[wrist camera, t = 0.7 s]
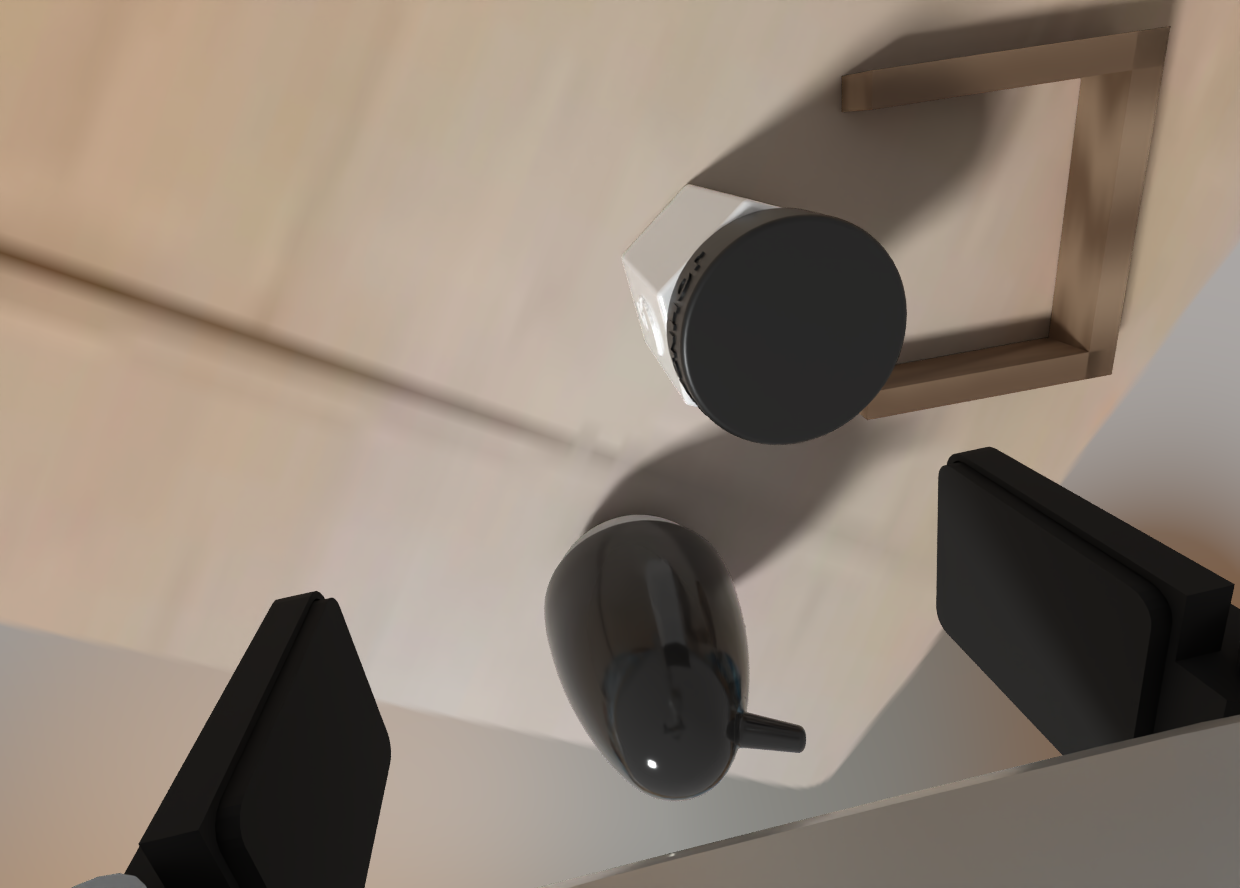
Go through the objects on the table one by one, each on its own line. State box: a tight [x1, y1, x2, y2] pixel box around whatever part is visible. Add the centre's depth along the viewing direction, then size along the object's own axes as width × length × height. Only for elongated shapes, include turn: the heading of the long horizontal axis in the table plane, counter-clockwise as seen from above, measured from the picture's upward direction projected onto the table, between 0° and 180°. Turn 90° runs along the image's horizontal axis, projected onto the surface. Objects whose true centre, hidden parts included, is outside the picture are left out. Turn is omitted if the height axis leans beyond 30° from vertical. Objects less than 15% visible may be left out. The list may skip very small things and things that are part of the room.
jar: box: [622, 184, 907, 445], centre depth 29 cm, size 9×8×12 cm
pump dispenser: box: [544, 515, 806, 801], centre depth 34 cm, size 10×10×15 cm
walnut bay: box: [842, 26, 1170, 420], centre depth 34 cm, size 16×14×3 cm
